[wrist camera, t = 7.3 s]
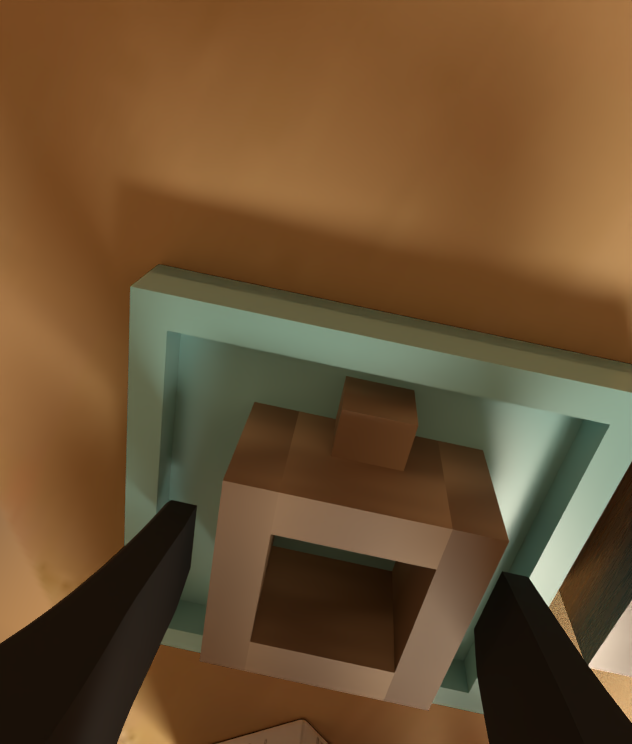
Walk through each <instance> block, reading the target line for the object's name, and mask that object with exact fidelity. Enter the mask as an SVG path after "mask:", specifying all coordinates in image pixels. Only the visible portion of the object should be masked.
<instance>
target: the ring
mask: <svg viewBox="0 0 632 744" xmlns="http://www.w3.org/2000/svg"><path fill="white" fill-rule="evenodd" d="M417 429H418V417H417V409H416V400H415V392H414V390H411V389H406V388H401V387H396V386H392V385H387V384H382V383H378V382H373V381H368V380H363V379H359V378H354V377H349V376H346V379H345V383H344V387H343V391H342V395H341V400H340V404H339V408H338V412H337V416H336V419H333V418H329V417H324V416H319V415H315V414H310V413H305V412H300V411H296V410H291V409H286V408H282V407H277V406H272V405H267V404H263V403H258V402H254V404H253V407H252V409H251V412H250V414H249V417H248V419H247V422H246V424H245V426H244V429H243V431H242V434H241V436H240V439H239V441H238V444H237V446H236V449H235V451H234V454H233V456H232V459H231V461H230V464H229V466H228V469H227V471H226V474H225V476H224V478H223V482H222V490H221V498H220V505H219V513H218V521H217V529H216V537H215V544H214V552H213V560H212V568H211V575H210V583H209V591H208V599H207V607H206V614H205V622H204V630H203V638H202V646H201V653H200V661H201V662H205V663H210V664H214V665H219V666H224V667H228V668H233V669H238V670H242V671H247V672H252V673H256V674H261V675H265V676H270V677H275V678H279V679H284V680H289V681H293V682H298V683H302V684H307V685H312V686H316V687H321V688H326V689H330V690H335V691H340V692H344V693H349V694H353V695H358V696H363V697H367V698H372V699H377V700H381V701H386V702H391V703H395V704H400V705H404V706H409V707H414V708H418V709H423V710H428V711H429V709H430V707H431V704H432V702H433V700H434V698H435V696H436V694H437V692H438V690H439V688H440V686H441V684H442V681H443V679H444V677H445V675H446V673H447V671H448V669H449V667H450V665H451V663H452V660H453V658H454V656H455V654H456V652H457V650H458V648H459V646H460V644H461V642H462V640H463V637H464V635H465V633H466V631H467V629H468V627H469V625H470V623H471V621H472V619H473V616H474V614H475V612H476V610H477V608H478V606H479V604H480V602H481V600H482V598H483V596H484V593H485V591H486V589H487V587H488V585H489V583H490V581H491V579H492V577H493V575H494V572H495V570H496V568H497V566H498V564H499V562H500V560H501V558H502V556H503V554H504V552H505V549H506V547H507V545H508V543H509V539H508V535H507V532H506V528H505V525H504V521H503V518H502V515H501V511H500V508H499V504H498V501H497V497H496V494H495V490H494V487H493V483H492V480H491V476H490V473H489V469H488V466H487V462H486V459H485V455H484V452H483V450H480V449H475V448H470V447H466V446H461V445H456V444H452V443H447V442H442V441H437V440H433V439H428V438H423V437H418V436H415V435H416V432H417ZM275 535H277V536H281V537H286V538H291V539H296V540H300V541H305V542H310V543H314V544H319V545H324V546H328V547H333V548H338V549H342V550H347V551H352V552H356V553H361V554H366V555H370V556H375V557H380V558H384V559H389V560H394V561H396V562H395V564H394V567H393V570H392V571H389V570H384V569H379V568H375V567H370V566H365V565H360V564H356V563H351V562H346V561H342V560H337V559H332V558H328V557H323V556H318V555H314V554H309V553H304V552H300V551H295V550H290V549H286V548H281V547H276V546H273V541H274V536H275Z"/></svg>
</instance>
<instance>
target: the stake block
mask: <svg viewBox="0 0 632 744" xmlns="http://www.w3.org/2000/svg"><path fill="white" fill-rule="evenodd" d="M559 592H560V594H561V597H562V600H563V603H564V606H565V608H566V611H567V614H568V617H569V620H570V622H571V625H572V628H573V631H574V633H575V636H576V639H577V642H578V645H579V647H580V650H581V653H582V656H583V658H584V660H585V662H586V663H587V664H588V666H589V667H590V668H592V669H596V670H601V671H606V672H610V673H615V674H620V675H624V676H629V677H632V462H631V464H630V465H629V467H628V469H627V471H626V472H625V474H624V476H623V478H622V479H621V481H620V483H619V485H618V486H617V488H616V490H615V492H614V493H613V495H612V497H611V499H610V500H609V502H608V504H607V506H606V507H605V509H604V511H603V513H602V514H601V516H600V518H599V520H598V521H597V523H596V525H595V527H594V528H593V530H592V532H591V534H590V535H589V537H588V539H587V541H586V543H585V544H584V546H583V548H582V550H581V551H580V553H579V555H578V557H577V558H576V560H575V562H574V564H573V565H572V567H571V569H570V571H569V572H568V574H567V576H566V578H565V579H564V581H563V583H562V585H561V586H560V588H559Z"/></svg>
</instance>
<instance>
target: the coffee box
mask: <svg viewBox="0 0 632 744" xmlns="http://www.w3.org/2000/svg"><path fill="white" fill-rule="evenodd" d="M216 744H328V743H327V742H326V741H325V740H324V739H323V738H322V737H321V736H320V735H319V734H318V733H317V732H316V731H315V730H314V728H313V727H312V726H311V725H310V724H309V723H308V722H307V721H305V720H297V721H294V722H290V723H287V724H283V725H280V726H276V727H273V728H269V729H266V730H262V731H259V732H255V733H252V734H248V735H245V736H241V737H238V738H234V739H231V740H227V741H224V742H220V743H216Z"/></svg>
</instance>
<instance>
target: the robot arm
mask: <svg viewBox="0 0 632 744" xmlns="http://www.w3.org/2000/svg"><path fill="white" fill-rule="evenodd" d="M196 512H197V505H193V504H188V503H184V502H179V501H175V500H170V501H169V502H167V503H166V504H165V505H164V506H163V507H162V508H161V509H160V511H159V512H158V513H157V514H156V515H155V516H154V517H153V518H152V519H151V520H150V521H149V522H148V523H147V524H146V525H145V527H144V528H143V529H142V530H141V531H140V532H139V533H138V534H137V535H136V536H135V537H134V538H133V539H132V540H130V541H129V542H128V543H127V544H126V545H125V546H124V547H123V548H122V549H121V550H120V551H119V552H118V553H117V554H116V555H114V556H113V557H112V558H111V559H110V560H109V561H108V562H107V563H106V564H105V565H104V566H102V567H101V568H100V569H99V570H98V571H97V572H95V573H94V574H93V575H92V576H91V577H89V578H88V579H87V580H86V581H85V582H83V583H82V584H81V585H80V586H79V587H78V588H76V589H75V590H74V591H73V592H71V593H70V594H69V595H68V596H66V597H65V598H64V599H63V600H61V601H60V602H59V603H57V604H56V605H55V606H53V607H52V608H51V609H49V610H48V611H47V612H45V613H44V614H43V615H41V616H40V617H38V618H37V619H36V620H34V621H33V622H32V623H30V624H29V625H27V626H26V627H25V628H23V629H21V630H20V631H18V632H17V633H15V634H14V635H12V636H11V637H9V638H8V639H6V640H5V641H3V642H2V643H0V744H117V742H118V739H119V736H120V734H121V731H122V728H123V726H124V723H125V721H126V718H127V716H128V714H129V711H130V709H131V707H132V704H133V702H134V700H135V698H136V696H137V693H138V691H139V689H140V687H141V685H142V683H143V681H144V678H145V676H146V674H147V672H148V670H149V668H150V665H151V663H152V661H153V659H154V657H155V655H156V653H157V650H158V648H159V646H160V644H161V642H162V640H163V637H164V635H165V633H166V631H167V629H168V627H169V624H170V622H171V620H172V618H173V616H174V613H175V611H176V609H177V606H178V603H179V600H180V597H181V595H182V592H183V589H184V586H185V583H186V580H187V577H188V574H189V571H190V568H191V559H192V549H193V540H194V531H195V521H196ZM474 640H475V657H476V670H477V679H478V685H479V690H480V696H481V701H482V707H483V712H484V718H485V723H486V728H487V734H488V739H489V744H632V723H631V721H630V720H629V719H628V718H627V716H626V715H625V714H624V712H623V711H622V710H621V709H620V707H619V706H618V705H617V703H616V702H615V701H614V700H613V698H612V697H611V696H610V694H609V693H608V692H607V690H606V689H605V688H604V686H603V685H602V684H601V682H600V681H599V680H598V678H597V677H596V676H595V674H594V673H593V671H592V670H591V669H590V667H589V666H588V664H587V663H586V662H585V660H584V659H583V657H582V656H581V654H580V653H579V652H578V650H577V649H576V647H575V646H574V644H573V643H572V641H571V640H570V639H569V637H568V636H567V634H566V633H565V631H564V630H563V628H562V627H561V625H560V624H559V622H558V621H557V619H556V618H555V616H554V615H553V613H552V612H551V610H550V609H549V607H548V606H547V604H546V603H545V601H544V600H543V598H542V597H541V595H540V594H539V592H538V591H537V589H536V588H535V586H534V585H533V583H532V582H531V580H530V579H529V577H527V576H522V575H518V574H513V573H509V572H504V571H502V572H501V574H500V576H499V579H498V581H497V583H496V585H495V587H494V589H493V591H492V593H491V595H490V597H489V599H488V601H487V603H486V605H485V607H484V609H483V611H482V613H481V615H480V617H479V619H478V622H477V624H476V626H475V628H474Z"/></svg>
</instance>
